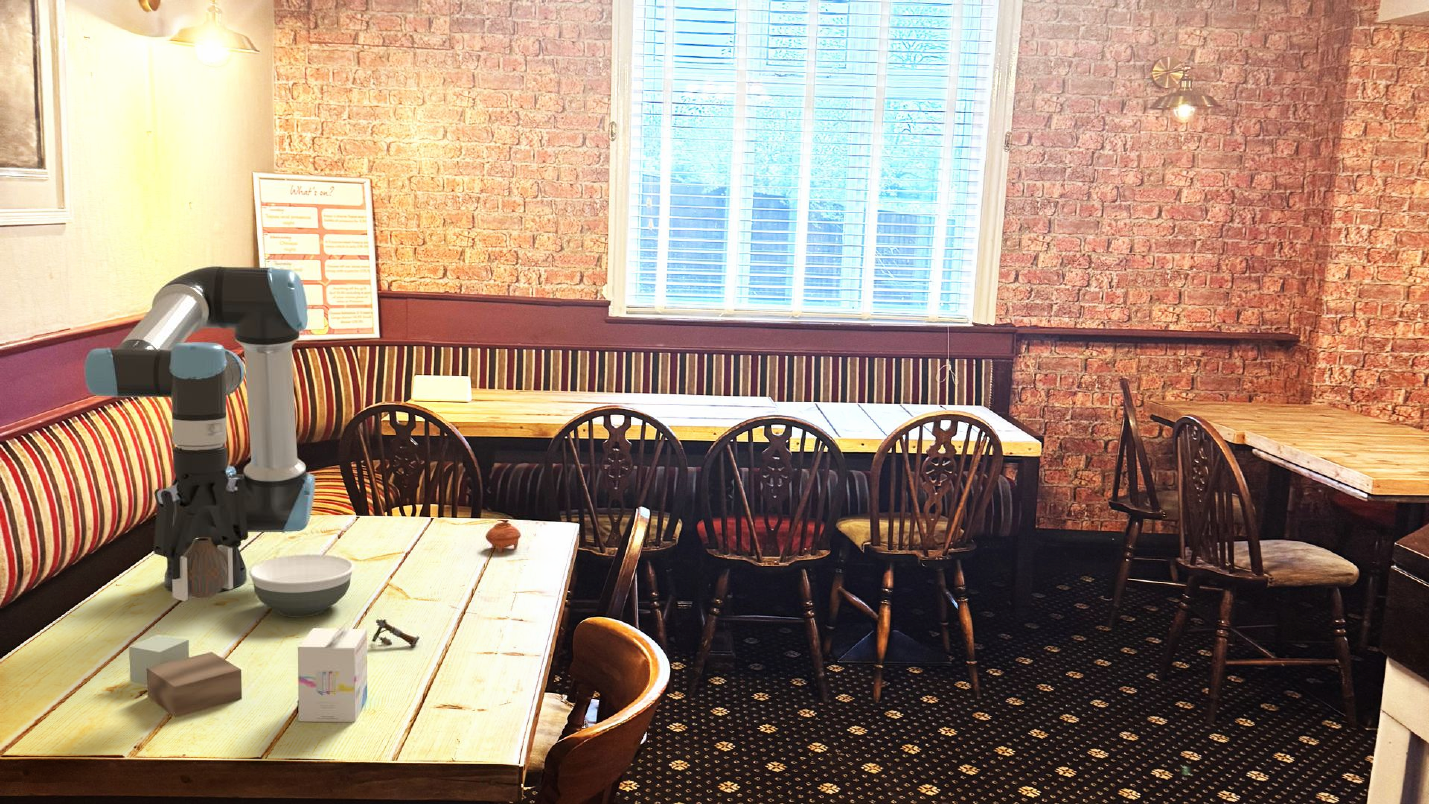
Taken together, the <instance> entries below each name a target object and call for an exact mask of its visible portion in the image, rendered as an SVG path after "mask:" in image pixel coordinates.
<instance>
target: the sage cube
mask: <svg viewBox="0 0 1429 804" xmlns="http://www.w3.org/2000/svg"><path fill="white" fill-rule="evenodd" d="M189 644H190V642H189V639H186V638H179V637H176V636H169V635H166V634H165V635H164V634H156V635H154V636H151V637H149V638H146V639H144V640H141V641H139V642H136V643H133V644H132V645H129V646H128V649H129V651H128V655H129V657H128V658H129V683H131V684H137V685H142V686H146V687H147V668H148V667H152V666H156V665H160V664H164V663H168V662H172V661H177V660H181V659H185V658H189V657H190V648H189V647H190V646H189Z"/></svg>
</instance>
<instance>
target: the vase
mask: <svg viewBox="0 0 1429 804" xmlns="http://www.w3.org/2000/svg"><path fill="white" fill-rule="evenodd" d="M183 557H186V558H187V581H188V597H190V598H194V599H206V598H212V597H215V596H216V595H218V594H219V593H220V592H221V589H222V588H223V587H224V585H225V582H226V578H227V564H226V561H225V558H224V556H223V554H222V553H221V552H220V551H219V550H218V548H217V547H216V546H215V545H214V544H213V542H212V540H211V538H208V537H200V538H195V539H194V540H193V543H192V545H191V546H190V548H189V549H188V550H187V551H186V553H185V554H184V555H183Z"/></svg>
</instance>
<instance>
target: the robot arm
mask: <svg viewBox="0 0 1429 804" xmlns="http://www.w3.org/2000/svg"><path fill="white" fill-rule="evenodd" d="M308 317H309V316H308V303H307V297H306V292H305V288H304V284H303V281H302V280H301V277H300V275H298V273H297V272H295V271H294V270H291V269H287V268H286V269H285V268H284V269H283V268H275V267H272V266H271V267H258V266H257V267H254V266H253V267H249V266H248V267H247V266H246V267H244V266H243V267H241V266H237V267H236V266H216V265H215V266H206V267H202V268H198V269H194V270H191V271H188V272H186V273H184V274H181V275H179V276H178V277H176V278H174V279H172V280H170V281H169V282H167V283H166V284H165V285H164V286H162V288H160V289H159V291H157V293H156V294H155V295H154V298H153V300H152V303H151V309H149V311H148V312H147V313H146V315H144V317H142V318H141V320H140V321H139V322H138V323H137V324H136V325H135V327H134V328H133V329H132V330H131V331H130V332H129V334H128V335H127V336H126V337H125V338H124V339H123V340H122V342H120V344H119V345H118V346H117V347H116V348H113V347H112V348H111V347H105V348H103V347H102V348H94V349H91V350H90V352H89V351H88V352H89V353H88V354H87V356H86V359H85V363H84V371H83V372H84V381H85V386H86V388H87V390H88V391H89V392H90V393H91V394H92V395H93V396H99V397H113V398H114V399H116V398H171V410H172V411H171V418H172V419H171V421H172V422H171V431H172V435H171V439H172V440H171V442H172V444H173V445H175V447H174V448H173V449H172V465H173V466H172V468H173V472H174V478H173V480H172V483H171V486H169V487H165V488H164V489H161V488H156V489H155V490H154V499H155V501H156V516H155V525H154V526H155V528H154V539H153V554H154V555H158V556H160V557H161V556H162V557H165V558H166V564H167V566H166V567H167V568H166V570H165V572H164V587H165V589H167V590H169V591H171V592H172V598H174V599H177V600H180V601H182V602H184V601H188V599H189V596H188V581H187V558H186V557H183V555H184V554H185V553H186V551H187V550H188V549H189V548H190V546H191V545H192V543H193V540H194V539H195V538H200V537H208V538H211V540H212V542H213V544H214V545H215V546H216V547H217V548H218V550H219V551H220V552H221V553H222V554H223V556H224V558H225V561H226V564H227V578H226V582H225V585H224V587H223V588H222V589H221V591H222V592H223V591H226V590H232V589H234V588H237V587H239V586H241V585H243V584H245V583H246V581H247V579H248V578H247V577H248V576H247V575H248V574H247V566H246V564H245V562H244V560H243V556H242V553H241V551H240V548H239V547H240V546H241V545H242V541H246V540H248V538H249V533H282V534H285V533H287V532H290V533H292V532H300V531H303V530H305V529H306V528H307V526H308V525H309V522H310V519H311V514H312V510H313V504H314V498H315V489H316V488H315V487H316V477H315V475H314V474H311V473H309V472H308V473H307V468H306V467H307V466H306V464H305V462H303V461H302V460H301V459H300V458H298V448H297V446H298V445H297V432H296V431H297V430H296V408H295V405H296V404H295V391H294V389H295V388H294V370H293V369H294V367H293V366H294V365H293V349H292V348H293V345H294V344H295V343H296V342H297V341H298V340H299V339H300V332H302V331H304V330H306V328H307V326H308V320H309V319H308ZM202 329H229V330H233V332H234V340H235V342H236V343H238V344H239V345H240V346H241V347H242V348H243V351H244V353H243V354H244V355H243V356H244V363H243V361H242V359H241V358H240V357H239V355H237V353H235V352H233V351H232V350H228V349H225V346H223V345H222V344H219V343H217V342H202V341H199V342H198V341H197V342H196V341H194V342H193V341H191V342H190V341H189V342H186V340H187V339H188V338H189V337H190V335H192V334H194V333H197V332H198V331H199V332H200V330H202ZM244 378H245V385H246V397H247V401H246V402H247V415H248V431H249V432H248V433H249V445H250V459H251V460H250V462H249V463H247V464H246V465H245V466H244V468H243V473H242V474H240V473H239V474H238V473H237V470H236V468H235V467H234V466H233V465H228V447H226V445H224V444H225V443H227V441H228V436H227V435H228V433H227V431H228V430H227V426H228V425H227V396H230V395H231V394H233V393H235V392H236V391H237V389H239V387H240V386H241V385H242V383H243V381H244ZM221 591H220V592H221Z"/></svg>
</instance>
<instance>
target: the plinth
mask: <svg viewBox="0 0 1429 804" xmlns="http://www.w3.org/2000/svg"><path fill="white" fill-rule="evenodd" d="M242 685H243V684H242V669H241V668H239V667H238V666H236V665H234V664H233V663H231V662H229V661H227V659H224V658H223V657H221V656H219V655H218V654H216V653H214V652H213V651H211V652H205V653H202V654H197V655H194V656H189V658H185V659H181V660H177V661H172V662H168V663H164V664H160V665H156V666H152V667H148V668H147V686H146V689H147V691H146V695H147V698H148V699H149V700H151V701H152V702H154V704H156V705H158V706H159V707H161V708H162V709H163V710H165V712H168V713H169V715H172V716H173V717H174V718H179V717H181V716H185V715H189V714H192V713H196V712H199V711H203V710H207V709H211V708H215V707H218V706H221V705H225V704H229V703H232V702H235V701H239V700H242V699H243V689H242V688H243V687H242Z"/></svg>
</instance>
